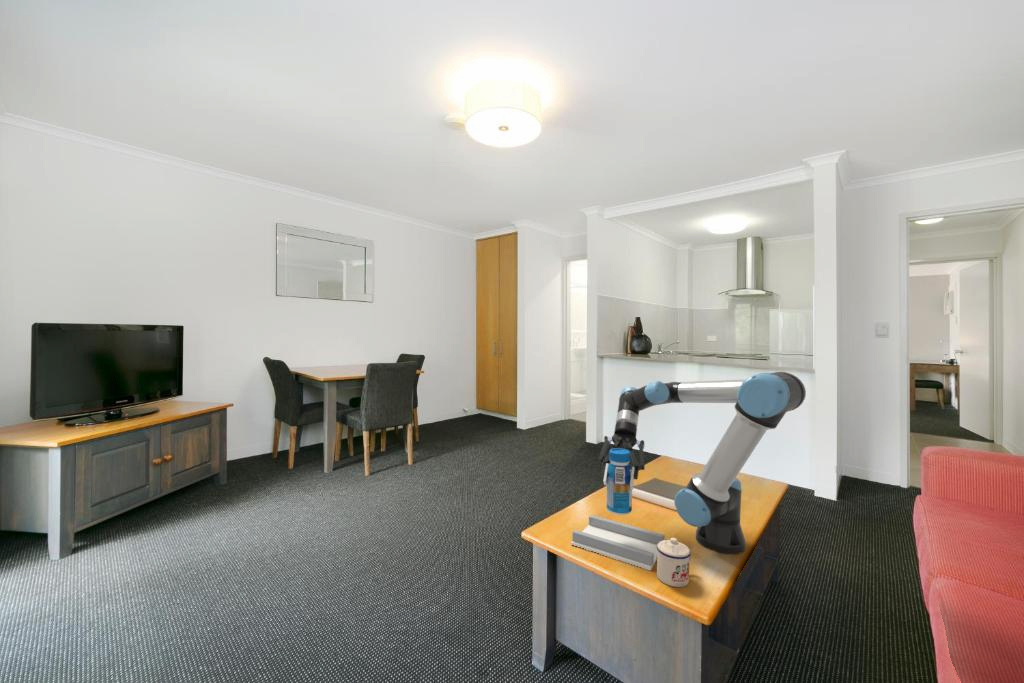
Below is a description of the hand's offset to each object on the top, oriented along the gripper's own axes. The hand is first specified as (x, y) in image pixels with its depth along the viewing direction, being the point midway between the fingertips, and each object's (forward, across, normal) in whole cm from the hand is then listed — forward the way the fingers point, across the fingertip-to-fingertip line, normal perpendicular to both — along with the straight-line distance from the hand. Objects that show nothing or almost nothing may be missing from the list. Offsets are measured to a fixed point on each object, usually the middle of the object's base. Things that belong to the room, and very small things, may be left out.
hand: (618, 485), depth 136 cm
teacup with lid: (+21, -18, -10) cm, 29 cm away
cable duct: (+13, 0, -17) cm, 22 cm away
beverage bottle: (+4, 0, -9) cm, 10 cm away
